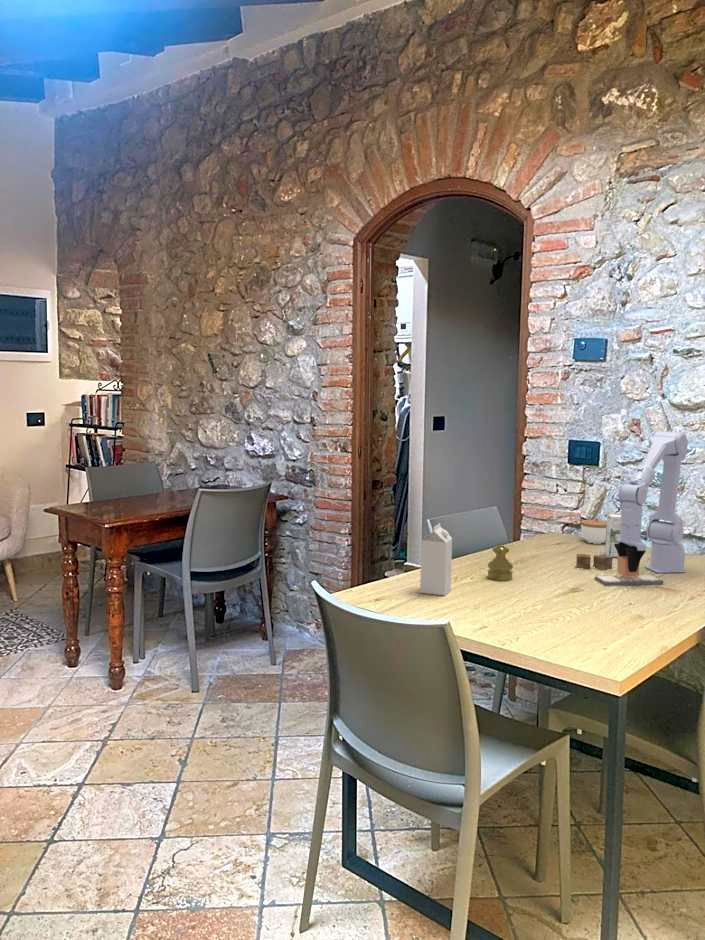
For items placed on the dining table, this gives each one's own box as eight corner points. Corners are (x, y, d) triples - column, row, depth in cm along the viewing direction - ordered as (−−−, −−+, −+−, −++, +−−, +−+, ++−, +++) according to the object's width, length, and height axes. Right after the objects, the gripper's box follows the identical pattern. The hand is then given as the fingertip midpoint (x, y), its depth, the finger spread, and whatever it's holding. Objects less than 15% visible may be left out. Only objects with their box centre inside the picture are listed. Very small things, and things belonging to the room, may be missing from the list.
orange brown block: (631, 572, 231) (632, 556, 230) (638, 576, 226) (639, 559, 226) (617, 572, 230) (618, 556, 230) (624, 576, 226) (625, 559, 225)
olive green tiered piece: (514, 581, 228) (515, 548, 226) (489, 581, 228) (490, 548, 226) (510, 575, 235) (511, 543, 234) (485, 574, 235) (486, 542, 234)
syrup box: (621, 554, 265) (623, 513, 263) (625, 558, 259) (628, 516, 257) (604, 554, 265) (606, 512, 264) (608, 557, 260) (610, 515, 258)
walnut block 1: (589, 566, 247) (589, 554, 247) (590, 569, 243) (590, 557, 243) (576, 566, 248) (576, 553, 247) (576, 568, 244) (577, 556, 244)
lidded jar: (606, 540, 289) (607, 515, 288) (613, 546, 278) (614, 520, 277) (577, 539, 290) (578, 514, 289) (583, 545, 279) (584, 519, 278)
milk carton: (419, 593, 213) (421, 526, 211) (426, 587, 220) (428, 522, 218) (444, 596, 211) (446, 528, 209) (450, 589, 217) (452, 523, 215)
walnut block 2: (603, 566, 247) (603, 554, 247) (611, 569, 243) (612, 557, 243) (593, 567, 246) (593, 555, 245) (601, 570, 242) (602, 558, 241)
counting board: (651, 578, 233) (651, 574, 233) (663, 584, 226) (663, 580, 226) (594, 579, 230) (594, 576, 230) (605, 585, 224) (605, 582, 223)
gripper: (606, 520, 233) (604, 563, 235) (630, 529, 219) (627, 575, 221) (628, 519, 234) (626, 563, 236) (653, 528, 220) (650, 575, 221)
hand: (628, 569), depth 228 cm, fingers closed on orange brown block, 4 cm apart
